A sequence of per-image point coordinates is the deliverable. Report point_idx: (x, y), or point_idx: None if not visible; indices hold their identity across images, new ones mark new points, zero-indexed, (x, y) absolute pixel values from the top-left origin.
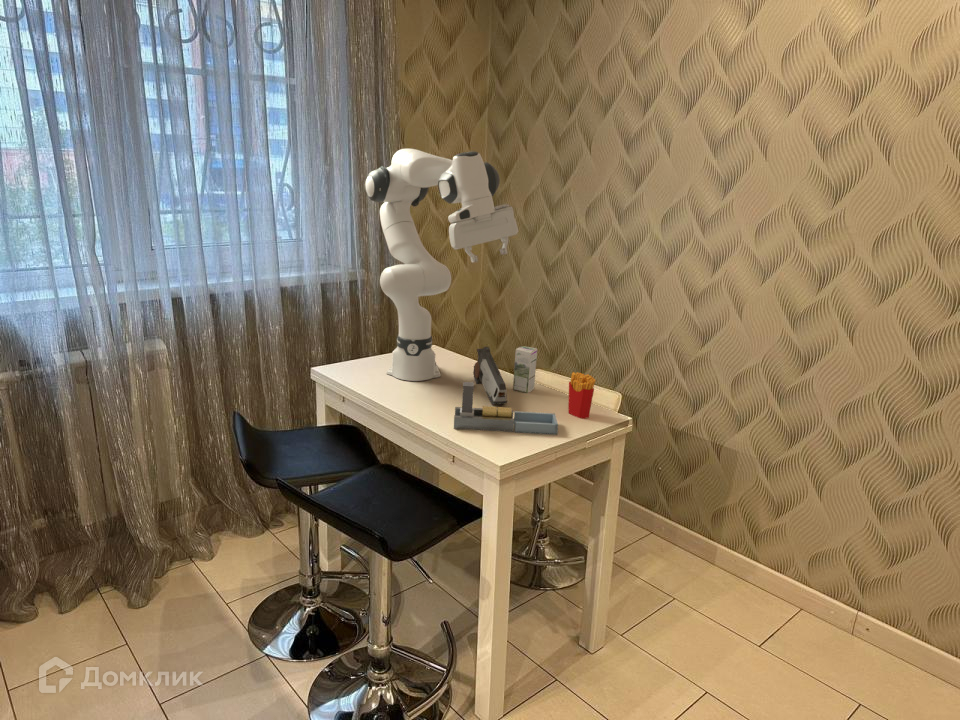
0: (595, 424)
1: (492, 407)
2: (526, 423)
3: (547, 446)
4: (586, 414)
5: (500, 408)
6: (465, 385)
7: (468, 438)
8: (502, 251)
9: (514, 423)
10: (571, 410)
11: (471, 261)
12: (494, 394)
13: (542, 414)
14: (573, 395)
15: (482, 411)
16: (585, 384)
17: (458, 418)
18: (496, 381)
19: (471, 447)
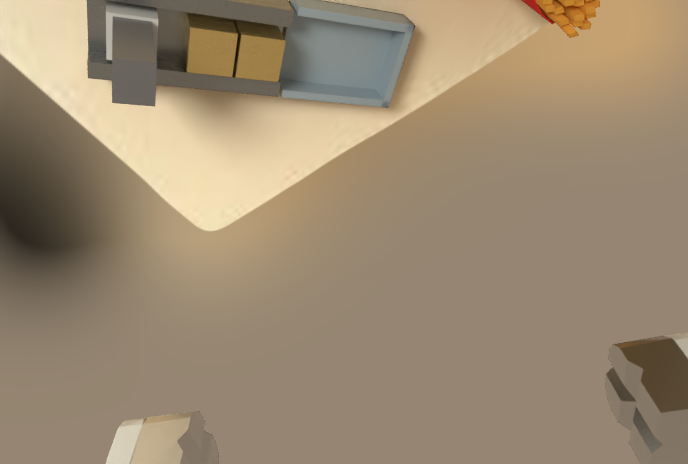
0: (505, 25)
1: (223, 39)
2: (309, 99)
3: (331, 157)
4: None
5: (249, 47)
6: (122, 99)
7: (138, 124)
8: (633, 423)
9: (286, 32)
10: None
11: (123, 433)
12: None
13: (377, 27)
14: None
15: (188, 26)
16: (557, 12)
17: (103, 77)
18: None
19: (146, 173)
